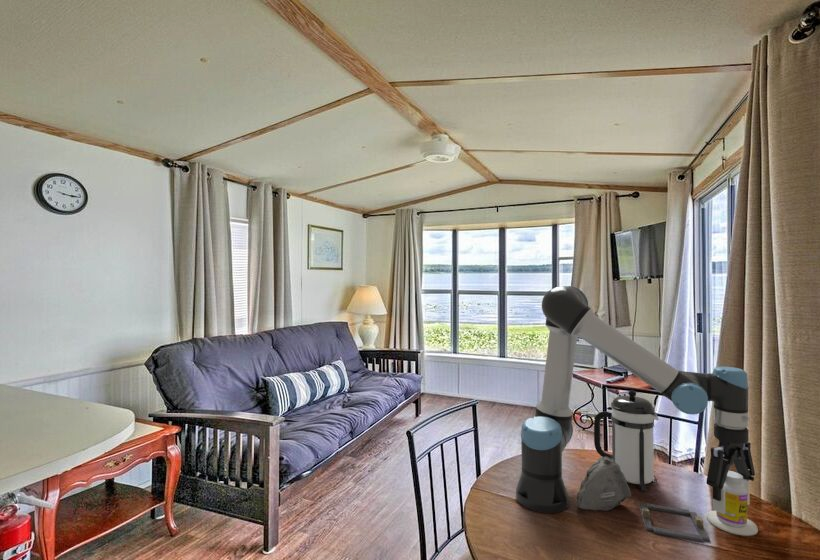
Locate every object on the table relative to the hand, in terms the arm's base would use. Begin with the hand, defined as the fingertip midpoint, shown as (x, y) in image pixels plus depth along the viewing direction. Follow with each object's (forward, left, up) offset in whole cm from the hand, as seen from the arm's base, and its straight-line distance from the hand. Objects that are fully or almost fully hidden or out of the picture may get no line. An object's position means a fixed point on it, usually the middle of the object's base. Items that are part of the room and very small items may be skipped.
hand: (731, 506), depth 114 cm
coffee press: (-23, +18, -5) cm, 30 cm away
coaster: (0, 0, -5) cm, 5 cm away
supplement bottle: (0, 0, -4) cm, 4 cm away
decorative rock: (-32, -4, -5) cm, 33 cm away
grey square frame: (-15, -5, -5) cm, 16 cm away
